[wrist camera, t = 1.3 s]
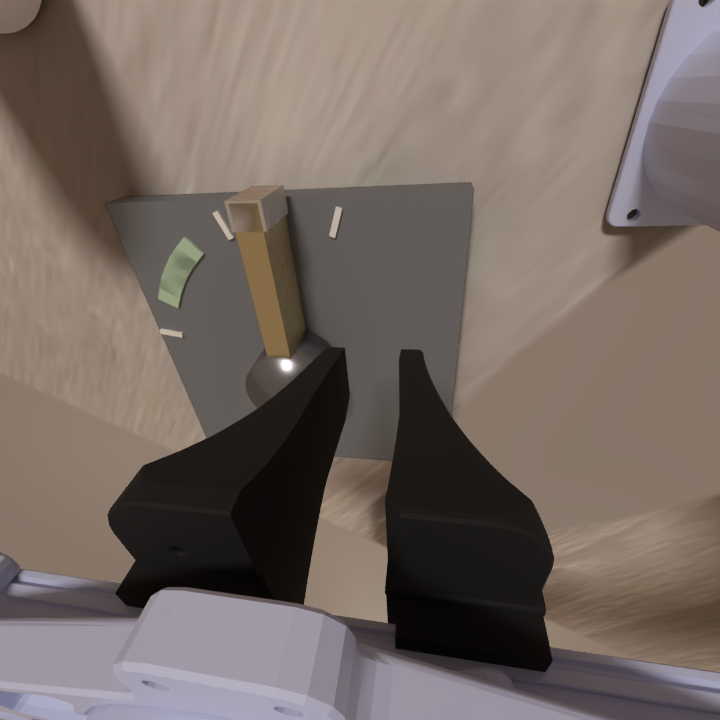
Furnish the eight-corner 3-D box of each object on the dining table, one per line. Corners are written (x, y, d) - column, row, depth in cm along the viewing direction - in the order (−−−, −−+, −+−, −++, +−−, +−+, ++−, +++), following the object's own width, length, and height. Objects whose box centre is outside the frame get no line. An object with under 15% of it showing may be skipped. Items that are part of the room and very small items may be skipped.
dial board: (470, 182, 17) (474, 190, 16) (445, 448, 28) (446, 466, 26) (124, 197, 20) (102, 204, 19) (219, 432, 31) (209, 448, 29)
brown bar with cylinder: (315, 183, 16) (295, 199, 14) (341, 390, 23) (330, 425, 21) (221, 187, 17) (187, 203, 15) (273, 387, 24) (255, 420, 22)
